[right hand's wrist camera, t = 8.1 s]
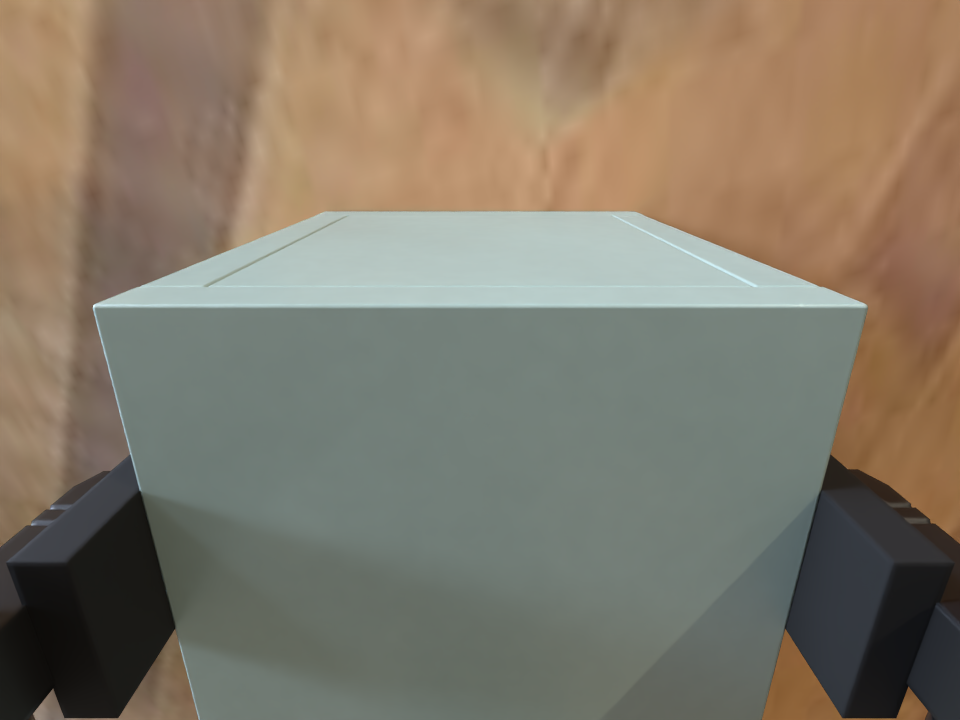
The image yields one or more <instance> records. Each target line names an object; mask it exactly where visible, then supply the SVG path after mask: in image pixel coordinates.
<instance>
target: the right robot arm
mask: <svg viewBox="0 0 960 720" xmlns="http://www.w3.org/2000/svg"><path fill="white" fill-rule="evenodd" d="M785 629H786V630H787V632H788V633H789V635H790V636H791V638H792V640H793V641H794V643H795V644H796V646H797V647H798V649H799V651H800V652H801V654H802V655H803V657H804V658H805V660H806V662H807V663H808V665H809V666H810V668H811V669H812V671H813V673H814V674H815V676H816V677H817V679H818V680H819V682H820V684H821V685H822V687H823V688H824V690H825V691H826V693H827V694H828V696H829V698H830V699H831V701H832V702H833V704H834V705H835V707H836V709H837V710H838V712H839V713H840V715H841V716H842V718H897V715H898V712H899V710H900V707H901V704H902V702H903V699H904V696H905V694H906V691H907V689H908V686H909V687H910V689H911V690H912V691H913V692H914V694H915V695H916V696H917V697H918V699H919V700H920V701H921V702H922V704H923V705H924V706H925V707H926V709H927V710H928V713H927V716H926V718H925V720H960V544H959V543H958V542H957V541H955V540H954V539H953V538H952V537H951V536H949V535H948V534H947V533H946V532H945V531H943V530H942V529H941V528H940V527H938V526H937V525H936V524H931V523H930V519H929V518H927V517H926V516H925V515H924V514H923V513H921V512H920V511H919V510H918V509H917V508H912V507H911V504H910V503H909V502H908V501H907V500H906V499H904V498H903V497H902V496H901V495H899V494H898V493H897V492H896V491H895V490H893V489H892V488H891V487H890V486H888V485H887V484H885V483H883V482H881V481H879V480H877V479H875V478H873V477H871V476H869V475H867V474H866V473H864V472H862V471H860V470H848V469H847V468H845V467H844V466H843V465H842V464H841V463H840V462H839V461H837V460H836V459H835V458H834V457H833V456H832V455H831V454H830V457H829V461H828V465H827V469H826V473H825V477H824V480H823V484H822V488H821V492H820V496H819V500H818V504H817V507H816V511H815V515H814V519H813V523H812V527H811V531H810V535H809V538H808V542H807V546H806V550H805V554H804V558H803V562H802V566H801V569H800V573H799V577H798V581H797V585H796V589H795V593H794V596H793V600H792V604H791V608H790V612H789V616H788V620H787V624H786V627H785ZM174 630H175V625H174V621H173V617H172V613H171V610H170V606H169V602H168V598H167V594H166V590H165V586H164V582H163V578H162V575H161V571H160V567H159V563H158V559H157V555H156V551H155V547H154V544H153V540H152V536H151V532H150V528H149V524H148V520H147V516H146V512H145V509H144V505H143V501H142V497H141V493H140V489H139V485H138V481H137V478H136V474H135V470H134V466H133V462H132V458H131V454H130V455H129V456H128V457H127V458H126V459H124V460H123V461H122V462H121V463H120V464H119V465H117V466H116V467H115V468H114V469H113V470H112V471H103V472H101V473H99V474H97V475H95V476H94V477H92V478H90V479H88V480H86V481H84V482H82V483H80V484H78V485H76V486H74V487H73V488H72V489H70V490H69V491H68V492H67V493H66V494H64V495H63V496H62V497H61V498H59V499H58V500H57V501H56V502H55V503H53V504H52V505H51V508H50V510H45V511H44V512H43V513H41V514H40V515H39V516H38V517H37V518H35V519H34V520H33V521H32V524H31V526H26V527H24V528H23V529H22V530H21V531H20V532H18V533H17V534H16V535H15V536H14V537H12V538H11V539H10V540H9V541H8V542H6V543H5V544H4V545H3V546H1V547H0V720H35V718H34V716H33V713H34V712H35V710H36V709H37V708H38V706H39V705H40V704H41V703H42V701H43V700H44V699H45V698H46V696H47V695H48V694H49V693H50V691H51V690H52V689H54V692H55V694H56V697H57V700H58V702H59V705H60V707H61V710H62V713H63V715H64V718H118V717H119V716H120V714H121V713H122V711H123V710H124V708H125V706H126V705H127V703H128V702H129V700H130V699H131V697H132V695H133V694H134V692H135V691H136V689H137V688H138V686H139V684H140V683H141V681H142V680H143V678H144V677H145V675H146V673H147V672H148V670H149V669H150V667H151V666H152V664H153V663H154V661H155V659H156V658H157V656H158V655H159V653H160V652H161V650H162V648H163V647H164V645H165V644H166V642H167V641H168V639H169V637H170V636H171V634H172V633H173V631H174Z"/></svg>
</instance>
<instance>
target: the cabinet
mask: <svg viewBox="0 0 960 720" xmlns="http://www.w3.org/2000/svg"><path fill="white" fill-rule="evenodd" d="M867 310H868V306H867V305H866V304H864V303H862V302H859V301H857V300H854V299H852V298H849V297H847V296H844V295H842V294H839V293H837V292H834V291H832V290H829V289H827V288H824V287H819V286H817V285H815V284H812V283H810V282H807V281H805V280H802V279H800V278H798V277H795V276H793V275H790V274H788V273H785V272H783V271H780V270H778V269H775V268H773V267H770V266H768V265H765V264H763V263H760V262H758V261H755V260H753V259H750V258H748V257H745V256H743V255H740V254H738V253H735V252H733V251H730V250H728V249H725V248H723V247H721V246H718V245H716V244H713V243H711V242H708V241H706V240H703V239H701V238H698V237H696V236H693V235H691V234H688V233H686V232H683V231H681V230H678V229H676V228H673V227H671V226H668V225H666V224H663V223H661V222H658V221H656V220H653V219H651V218H648V217H646V216H644V215H642V214H640V213H637V212H323V213H321V214H318V215H316V216H314V217H311V218H309V219H306V220H304V221H301V222H299V223H297V224H294V225H292V226H289V227H287V228H284V229H282V230H279V231H277V232H274V233H272V234H269V235H267V236H264V237H262V238H259V239H257V240H254V241H252V242H249V243H247V244H244V245H242V246H239V247H237V248H234V249H232V250H230V251H227V252H225V253H222V254H220V255H217V256H215V257H212V258H210V259H207V260H205V261H202V262H200V263H197V264H195V265H192V266H190V267H187V268H185V269H182V270H180V271H177V272H175V273H172V274H170V275H168V276H165V277H163V278H160V279H158V280H155V281H153V282H150V283H148V284H145V285H143V286H141V287H136V288H134V289H131V290H129V291H126V292H124V293H121V294H119V295H116V296H114V297H111V298H109V299H106V300H104V301H102V302H99V303H97V304H94V306H93V311H94V315H95V318H96V322H97V326H98V330H99V334H100V338H101V342H102V346H103V349H104V353H105V357H106V361H107V365H108V369H109V373H110V377H111V381H112V384H113V388H114V392H115V396H116V400H117V404H118V408H119V412H120V415H121V419H122V423H123V427H124V431H125V435H126V439H127V443H128V447H129V450H130V454H131V458H132V462H133V466H134V470H135V474H136V478H137V481H138V485H139V489H140V493H141V497H142V501H143V505H144V509H145V512H146V516H147V520H148V524H149V528H150V532H151V536H152V540H153V544H154V547H155V551H156V555H157V559H158V563H159V567H160V571H161V575H162V578H163V582H164V586H165V590H166V594H167V598H168V602H169V606H170V610H171V613H172V617H173V621H174V625H175V629H176V633H177V637H178V641H179V644H180V648H181V652H182V656H183V660H184V664H185V668H186V672H187V676H188V679H189V683H190V687H191V691H192V695H193V699H194V703H195V707H196V710H197V714H198V718H199V720H762V716H763V713H764V709H765V705H766V701H767V697H768V693H769V689H770V685H771V682H772V678H773V674H774V670H775V666H776V662H777V658H778V655H779V651H780V647H781V643H782V639H783V635H784V631H785V627H786V624H787V620H788V616H789V612H790V608H791V604H792V600H793V596H794V593H795V589H796V585H797V581H798V577H799V573H800V569H801V566H802V562H803V558H804V554H805V550H806V546H807V542H808V538H809V535H810V531H811V527H812V523H813V519H814V515H815V511H816V507H817V504H818V500H819V496H820V492H821V488H822V484H823V480H824V477H825V473H826V469H827V465H828V461H829V457H830V453H831V449H832V446H833V442H834V438H835V434H836V430H837V426H838V422H839V418H840V415H841V411H842V407H843V403H844V399H845V395H846V391H847V388H848V384H849V380H850V376H851V372H852V368H853V364H854V360H855V357H856V353H857V349H858V345H859V341H860V337H861V333H862V329H863V326H864V322H865V318H866V314H867Z"/></svg>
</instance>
